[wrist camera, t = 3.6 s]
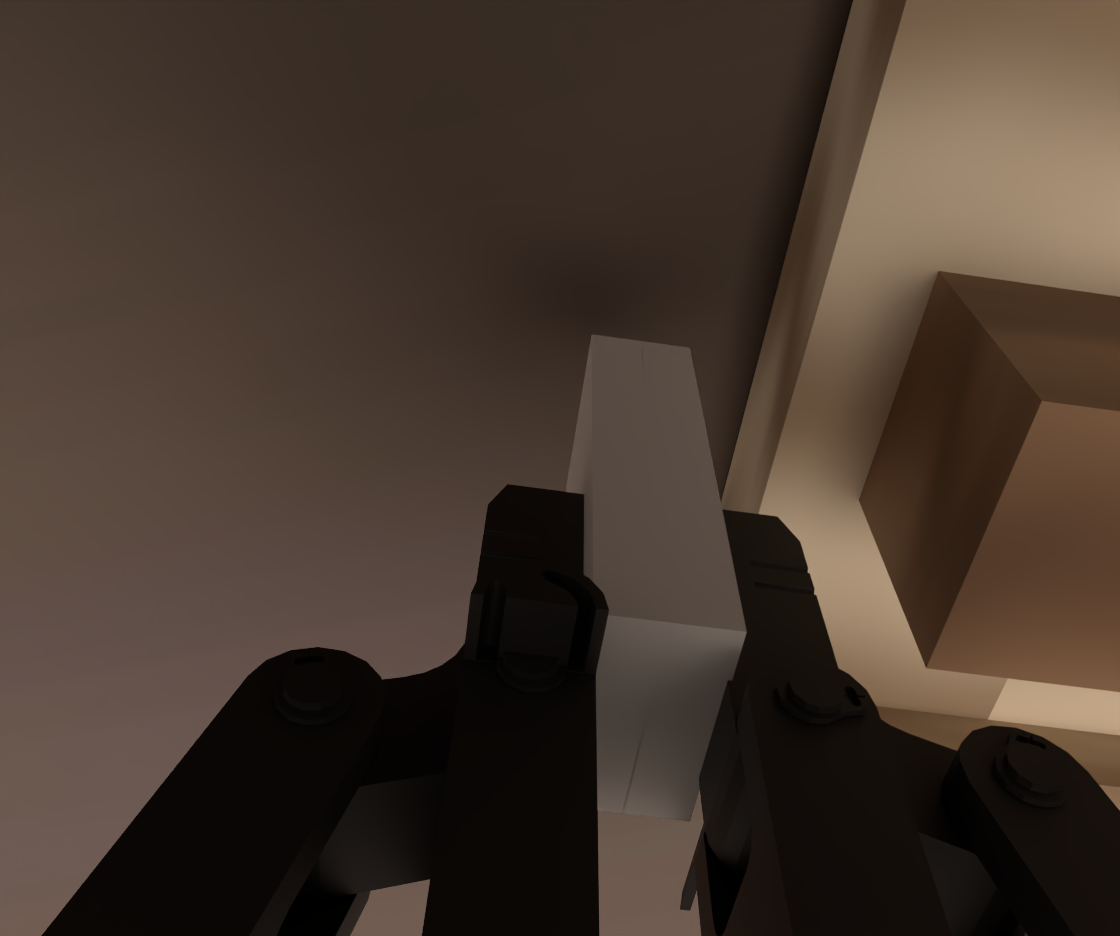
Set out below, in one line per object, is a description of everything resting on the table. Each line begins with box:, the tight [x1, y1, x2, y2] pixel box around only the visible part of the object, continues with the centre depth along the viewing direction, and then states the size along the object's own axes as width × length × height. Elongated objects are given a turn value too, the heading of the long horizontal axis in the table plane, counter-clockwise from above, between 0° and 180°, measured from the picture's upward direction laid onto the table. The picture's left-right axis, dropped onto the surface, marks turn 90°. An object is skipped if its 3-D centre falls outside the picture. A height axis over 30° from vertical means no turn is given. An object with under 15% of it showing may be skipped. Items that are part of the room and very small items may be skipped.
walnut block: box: [859, 271, 1120, 692], centre depth 16 cm, size 4×4×4 cm
